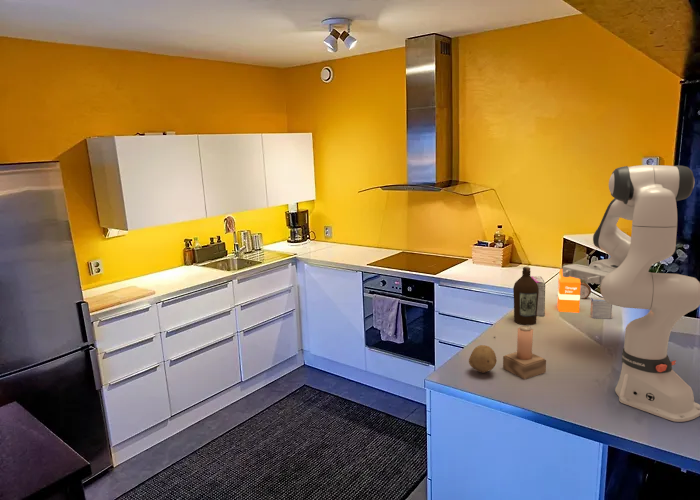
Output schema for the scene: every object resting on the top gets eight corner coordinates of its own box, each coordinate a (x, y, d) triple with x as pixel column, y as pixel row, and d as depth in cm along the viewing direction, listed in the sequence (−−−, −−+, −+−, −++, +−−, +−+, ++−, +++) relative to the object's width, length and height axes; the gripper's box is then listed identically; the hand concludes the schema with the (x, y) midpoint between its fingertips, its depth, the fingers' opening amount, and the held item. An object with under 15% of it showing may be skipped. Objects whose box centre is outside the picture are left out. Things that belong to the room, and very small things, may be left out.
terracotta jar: (535, 358, 164) (536, 328, 162) (524, 360, 162) (525, 330, 160) (524, 352, 168) (525, 324, 166) (513, 355, 166) (514, 326, 164)
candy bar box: (529, 308, 230) (530, 276, 227) (540, 308, 229) (541, 276, 226) (533, 316, 219) (534, 282, 216) (544, 316, 218) (546, 282, 215)
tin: (590, 298, 241) (591, 282, 239) (590, 300, 238) (590, 284, 237) (558, 295, 249) (559, 279, 247) (557, 296, 246) (558, 281, 245)
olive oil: (510, 317, 219) (511, 265, 214) (533, 317, 218) (535, 264, 213) (515, 325, 208) (517, 270, 203) (540, 325, 207) (542, 270, 202)
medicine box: (609, 316, 215) (610, 297, 213) (611, 319, 211) (612, 300, 209) (590, 315, 217) (591, 297, 216) (592, 318, 213) (593, 300, 211)
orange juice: (579, 312, 221) (581, 271, 217) (558, 311, 224) (560, 270, 220) (576, 307, 228) (578, 267, 225) (557, 306, 231) (558, 266, 227)
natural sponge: (501, 376, 162) (502, 349, 160) (477, 380, 160) (477, 352, 158) (488, 365, 171) (489, 339, 169) (466, 369, 169) (466, 342, 167)
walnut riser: (545, 372, 164) (546, 358, 163) (524, 379, 160) (524, 365, 159) (523, 361, 173) (524, 349, 172) (503, 368, 168) (503, 355, 167)
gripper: (577, 258, 185) (552, 263, 179) (627, 268, 167) (601, 274, 161) (576, 274, 186) (551, 279, 180) (625, 286, 168) (600, 292, 162)
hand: (575, 277), depth 171 cm, fingers open, 8 cm apart
